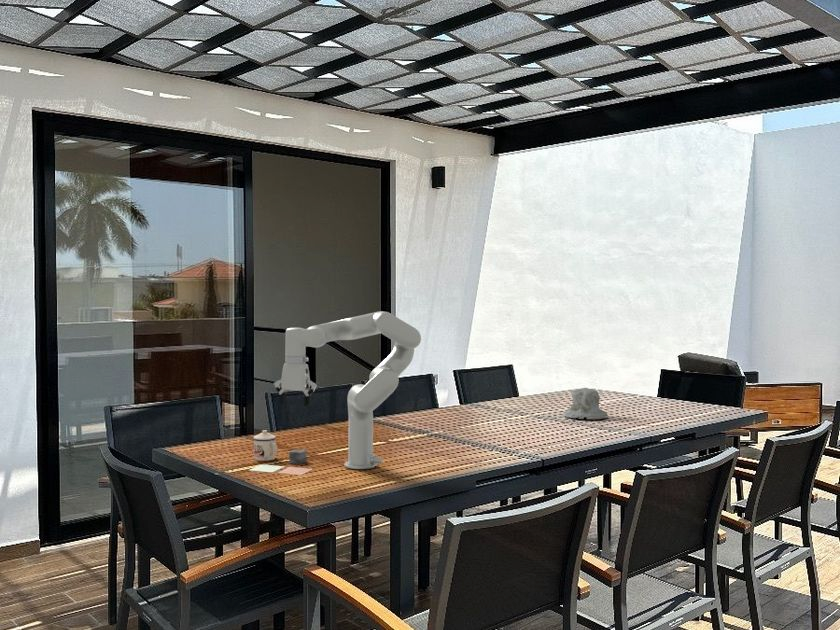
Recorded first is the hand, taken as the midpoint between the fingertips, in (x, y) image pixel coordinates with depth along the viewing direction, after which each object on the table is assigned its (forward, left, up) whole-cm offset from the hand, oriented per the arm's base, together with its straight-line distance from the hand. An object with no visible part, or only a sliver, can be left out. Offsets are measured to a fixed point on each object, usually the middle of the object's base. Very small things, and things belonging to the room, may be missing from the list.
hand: (295, 405), depth 302 cm
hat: (-89, -166, -26) cm, 190 cm away
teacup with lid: (+20, -14, -25) cm, 35 cm away
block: (+5, -13, -25) cm, 29 cm away
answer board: (+5, +1, -25) cm, 26 cm away
